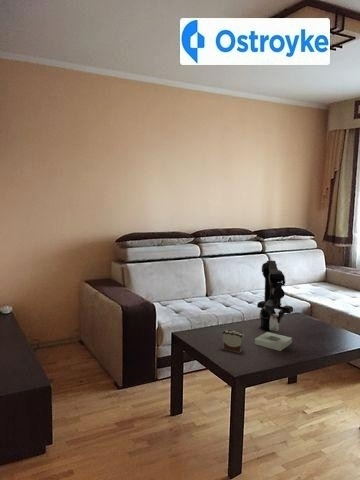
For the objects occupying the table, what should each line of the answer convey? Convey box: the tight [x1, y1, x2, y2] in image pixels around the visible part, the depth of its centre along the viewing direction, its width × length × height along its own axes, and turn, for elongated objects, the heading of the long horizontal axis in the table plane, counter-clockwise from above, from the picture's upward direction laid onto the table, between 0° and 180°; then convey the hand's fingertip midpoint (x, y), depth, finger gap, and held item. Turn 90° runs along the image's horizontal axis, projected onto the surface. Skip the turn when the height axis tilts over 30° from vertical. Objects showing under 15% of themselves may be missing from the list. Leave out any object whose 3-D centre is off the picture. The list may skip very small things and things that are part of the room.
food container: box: [221, 328, 245, 354], centre depth 209 cm, size 12×6×10 cm, turn 59°
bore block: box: [254, 331, 293, 352], centre depth 218 cm, size 15×15×3 cm
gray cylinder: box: [269, 313, 280, 332], centre depth 217 cm, size 5×5×8 cm
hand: (274, 322), depth 217 cm, fingers closed on gray cylinder, 5 cm apart
